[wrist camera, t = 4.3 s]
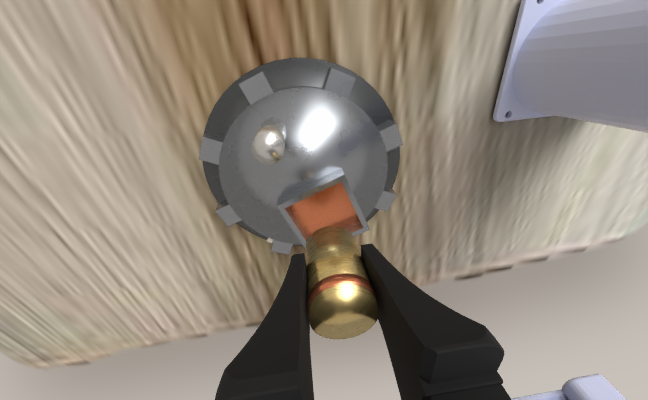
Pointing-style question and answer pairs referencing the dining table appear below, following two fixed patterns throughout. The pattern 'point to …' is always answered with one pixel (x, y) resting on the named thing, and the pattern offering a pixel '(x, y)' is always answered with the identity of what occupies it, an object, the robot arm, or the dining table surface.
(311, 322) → the roller
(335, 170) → the grey toothed wheel
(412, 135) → the dining table surface
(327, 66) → the base flange
